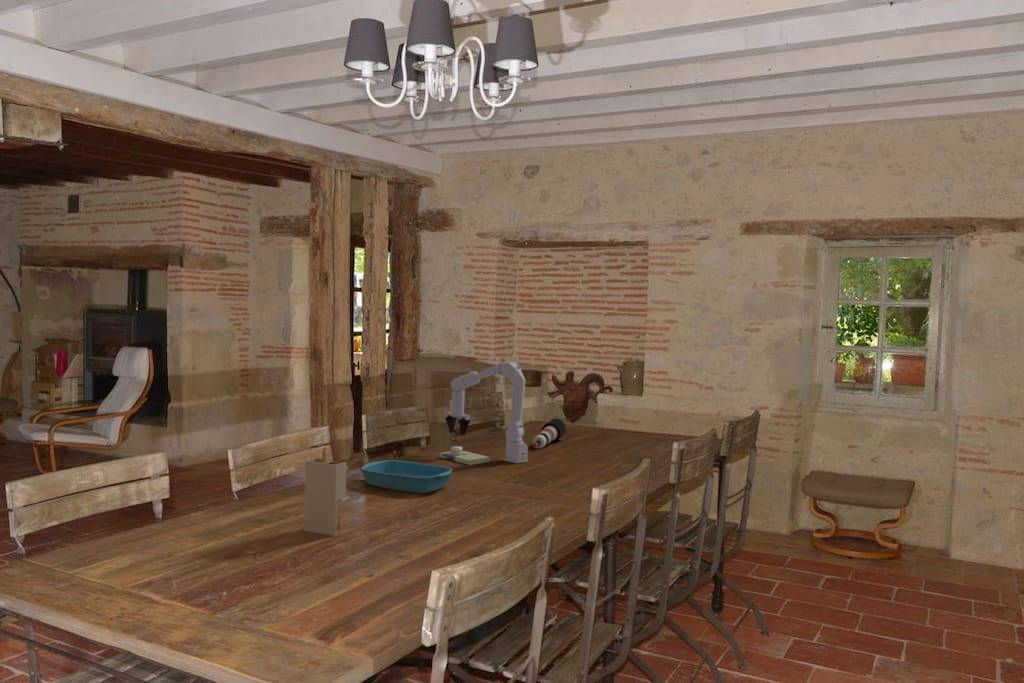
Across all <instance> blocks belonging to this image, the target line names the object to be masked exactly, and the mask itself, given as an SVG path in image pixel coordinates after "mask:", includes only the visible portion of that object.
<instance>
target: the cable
mask: <svg viewBox="0 0 1024 683" xmlns="http://www.w3.org/2000/svg"><path fill="white" fill-rule="evenodd" d="M540 430H541V431H539V432H538V433H537V435H535V436H534V438H533V439H532V447H533V448H534V449H542V448H544V447H545V446H546V445H548V444H550V443H556V442H557V441H558V440H560V439H561V438H562V437H563V436H565V434H566V431H567V427H566V423H565V422H564V421H563V420H562V419H561V418H560V419H559V418H552V419H551V420H549V421H547V422H546V423H545V424H544V425H543V426H542V427H541V429H540Z"/></svg>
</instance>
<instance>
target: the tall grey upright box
mask: <svg viewBox="0 0 1024 683" xmlns="http://www.w3.org/2000/svg"><path fill="white" fill-rule="evenodd" d="M326 455H327V447H324V449H323V450H322V451H321V458H319V457H320V456H319V455H318V456H317V457H316V458H311V459H308V460H305V464H304V465H305V466H304V468H305V469H304V511H303V512H304V513H303V514H304V517H303V518H304V519H303V526H304V527H303V531H304V532H308V533H315V534H320V535H325V536H326V535H327V536H331V537H337V536H339V535H340V534H342V530H341V525H342V524H341V522H342V519H341V518H342V516H341V515H339V514H338V506H339V507H341V505H340V503H339V502H343V501H346V500H349V499H350V494H349V495H348V494H347V466H348V465H347V462H346V461H343V462H340V463H336V464H334V463H333V464H332V463H327V462H326V461H327V459H326V457H327V456H326Z"/></svg>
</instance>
